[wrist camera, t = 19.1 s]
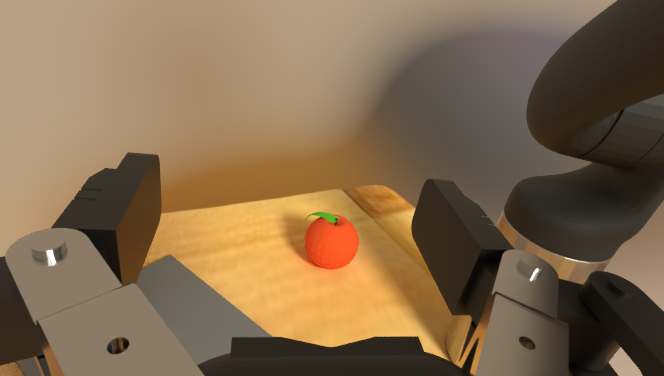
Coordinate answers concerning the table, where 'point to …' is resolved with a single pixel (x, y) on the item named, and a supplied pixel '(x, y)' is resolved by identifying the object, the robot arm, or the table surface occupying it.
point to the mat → (186, 312)
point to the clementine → (331, 241)
